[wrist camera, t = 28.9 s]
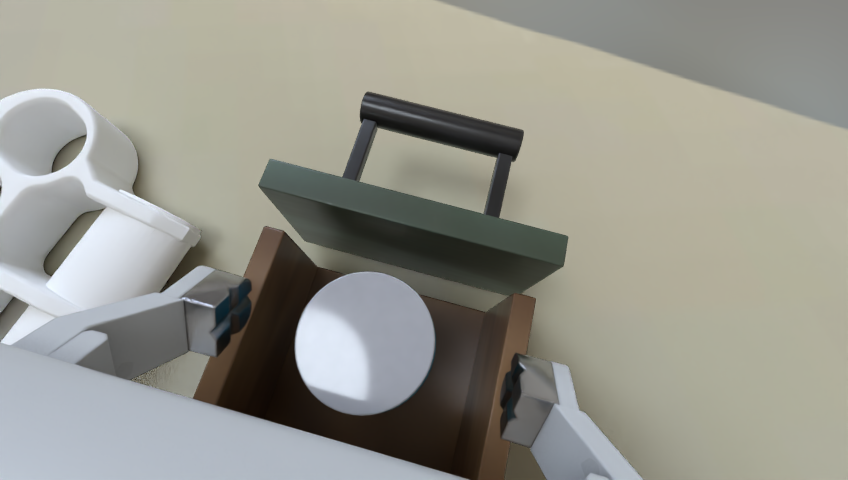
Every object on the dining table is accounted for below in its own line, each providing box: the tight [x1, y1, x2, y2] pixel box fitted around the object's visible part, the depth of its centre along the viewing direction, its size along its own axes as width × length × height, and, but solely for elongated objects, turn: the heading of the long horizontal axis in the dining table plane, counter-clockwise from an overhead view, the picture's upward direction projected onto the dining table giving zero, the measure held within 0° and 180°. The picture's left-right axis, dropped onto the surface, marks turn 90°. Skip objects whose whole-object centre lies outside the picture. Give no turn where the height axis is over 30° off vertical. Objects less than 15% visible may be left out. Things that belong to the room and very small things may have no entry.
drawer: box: [193, 92, 568, 480], centre depth 16 cm, size 21×11×7 cm, turn 165°
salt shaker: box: [294, 271, 436, 416], centre depth 14 cm, size 4×4×8 cm
